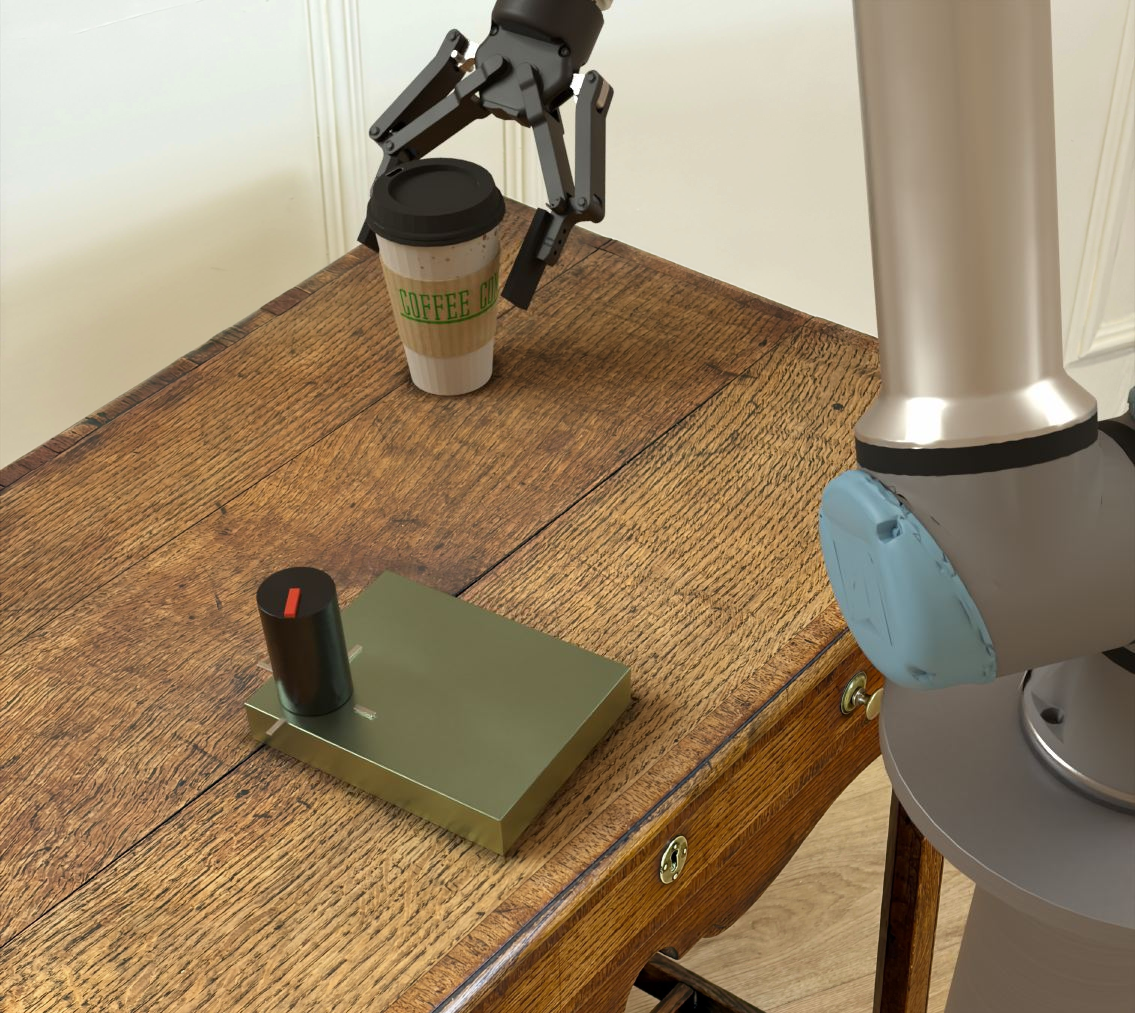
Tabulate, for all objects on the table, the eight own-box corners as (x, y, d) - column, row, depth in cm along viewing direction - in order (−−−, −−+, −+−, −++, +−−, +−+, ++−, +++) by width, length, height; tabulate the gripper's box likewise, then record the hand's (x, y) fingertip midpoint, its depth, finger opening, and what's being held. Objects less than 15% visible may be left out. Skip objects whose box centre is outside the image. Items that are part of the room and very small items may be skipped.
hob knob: (284, 663, 95) (261, 562, 89) (357, 663, 95) (339, 561, 89) (272, 715, 92) (248, 614, 86) (348, 716, 92) (329, 614, 86)
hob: (631, 703, 96) (631, 665, 94) (490, 872, 87) (486, 835, 85) (375, 598, 103) (369, 560, 101) (221, 744, 95) (210, 706, 92)
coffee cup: (459, 424, 116) (441, 235, 105) (360, 381, 121) (333, 195, 110) (542, 363, 122) (533, 176, 111) (444, 324, 126) (426, 140, 115)
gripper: (726, 56, 110) (601, 344, 113) (451, -20, 121) (343, 244, 124) (685, 3, 103) (552, 310, 106) (398, -72, 114) (285, 208, 117)
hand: (440, 275), depth 115 cm, fingers open, 13 cm apart
